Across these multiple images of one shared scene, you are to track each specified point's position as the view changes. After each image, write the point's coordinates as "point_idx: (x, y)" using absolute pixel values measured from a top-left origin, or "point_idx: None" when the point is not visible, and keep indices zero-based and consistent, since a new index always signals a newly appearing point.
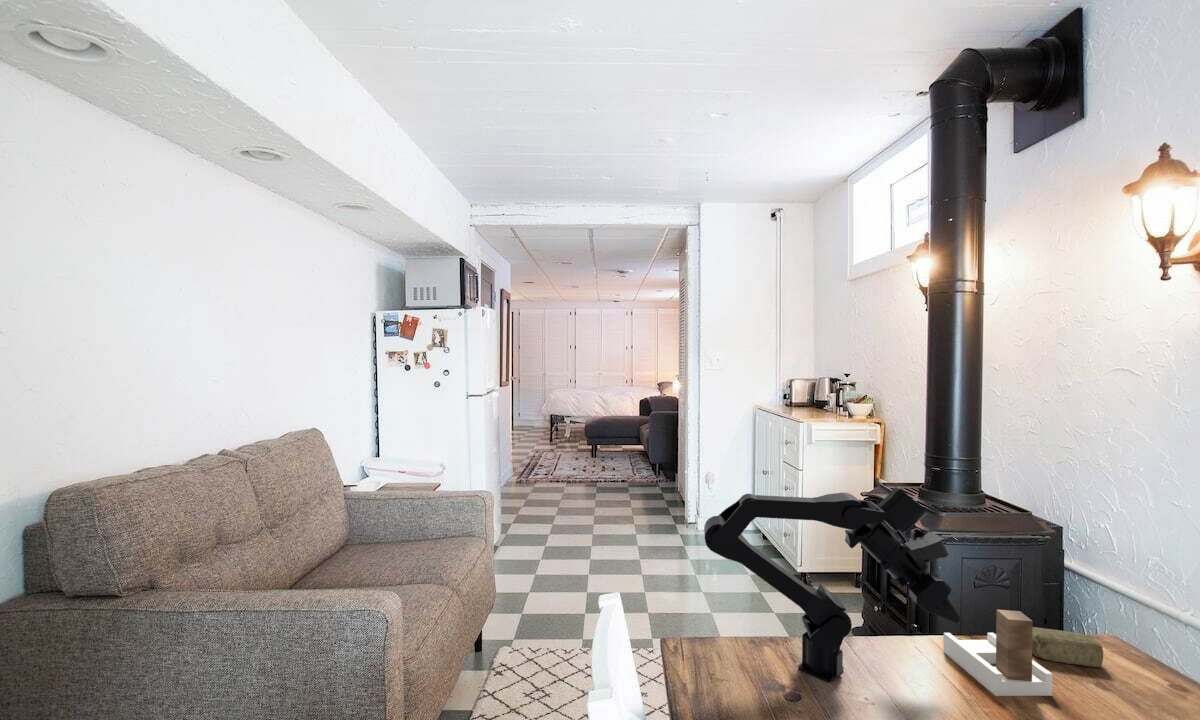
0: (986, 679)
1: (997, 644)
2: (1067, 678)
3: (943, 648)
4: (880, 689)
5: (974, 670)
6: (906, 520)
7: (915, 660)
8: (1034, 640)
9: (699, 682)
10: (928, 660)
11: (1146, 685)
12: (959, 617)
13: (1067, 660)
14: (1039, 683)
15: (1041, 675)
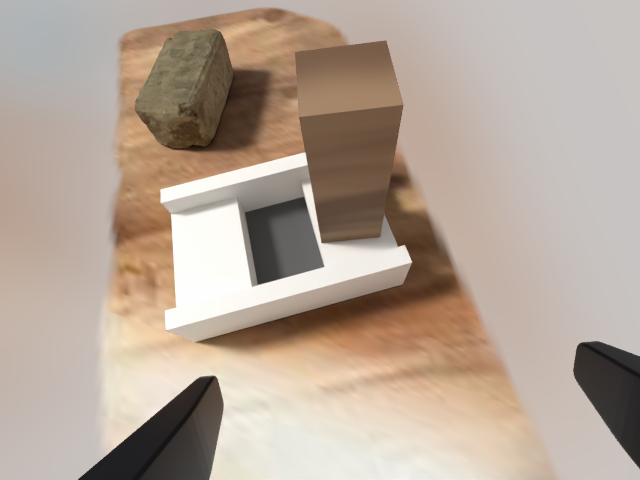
0: (373, 285)
1: (322, 206)
2: (279, 127)
3: (190, 340)
4: None
5: (325, 299)
6: None
7: (257, 458)
8: (183, 121)
9: None
10: (251, 409)
11: (277, 42)
12: (622, 353)
13: (222, 103)
14: None
15: None
